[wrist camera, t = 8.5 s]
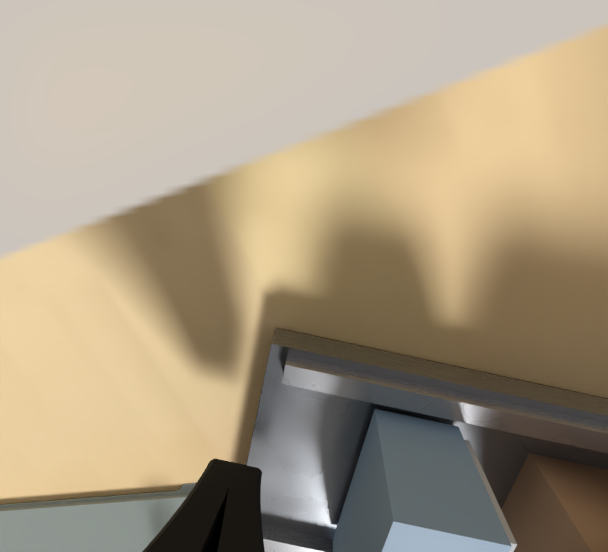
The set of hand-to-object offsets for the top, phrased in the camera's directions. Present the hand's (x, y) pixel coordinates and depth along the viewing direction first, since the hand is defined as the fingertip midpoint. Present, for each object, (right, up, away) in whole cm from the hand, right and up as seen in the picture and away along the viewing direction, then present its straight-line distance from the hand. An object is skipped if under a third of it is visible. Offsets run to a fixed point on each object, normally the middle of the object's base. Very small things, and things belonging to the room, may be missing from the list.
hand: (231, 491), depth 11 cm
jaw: (+5, -1, +1) cm, 5 cm away
